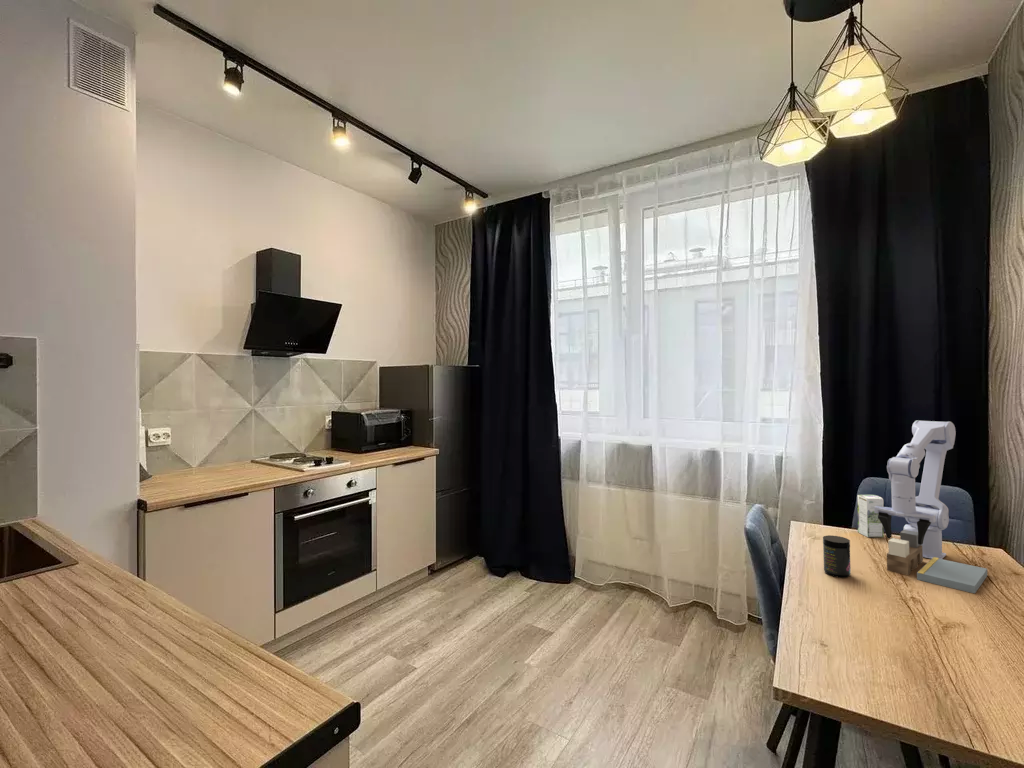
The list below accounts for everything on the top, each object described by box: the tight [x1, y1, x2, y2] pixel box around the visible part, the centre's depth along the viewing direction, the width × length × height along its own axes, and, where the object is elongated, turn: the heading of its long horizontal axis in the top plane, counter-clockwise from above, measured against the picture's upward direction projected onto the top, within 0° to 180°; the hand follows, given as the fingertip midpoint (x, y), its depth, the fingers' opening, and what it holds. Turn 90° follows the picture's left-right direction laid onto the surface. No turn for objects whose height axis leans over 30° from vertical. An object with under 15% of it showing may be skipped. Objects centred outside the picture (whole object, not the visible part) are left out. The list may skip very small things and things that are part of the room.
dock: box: [916, 557, 988, 594], centre depth 137 cm, size 12×18×2 cm, turn 127°
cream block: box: [887, 537, 909, 558], centre depth 142 cm, size 4×4×4 cm
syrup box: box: [857, 494, 885, 538], centre depth 175 cm, size 6×6×14 cm
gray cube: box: [899, 530, 920, 548], centre depth 150 cm, size 4×4×4 cm
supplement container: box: [822, 535, 852, 579], centre depth 142 cm, size 7×7×10 cm
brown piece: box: [886, 545, 924, 576], centre depth 146 cm, size 5×16×5 cm, turn 127°
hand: (904, 540), depth 146 cm, fingers open, 7 cm apart
